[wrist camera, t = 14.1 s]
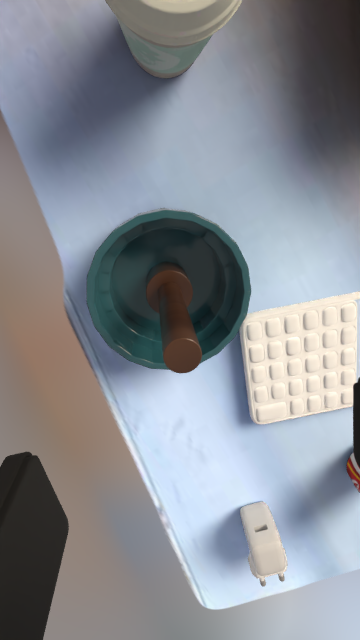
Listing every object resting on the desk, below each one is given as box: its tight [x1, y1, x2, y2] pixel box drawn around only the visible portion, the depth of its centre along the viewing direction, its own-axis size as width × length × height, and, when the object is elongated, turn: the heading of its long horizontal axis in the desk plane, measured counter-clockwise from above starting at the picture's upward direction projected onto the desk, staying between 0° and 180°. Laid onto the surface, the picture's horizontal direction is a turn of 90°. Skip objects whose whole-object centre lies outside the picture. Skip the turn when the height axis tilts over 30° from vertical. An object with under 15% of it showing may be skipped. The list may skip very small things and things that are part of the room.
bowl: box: [86, 208, 251, 370], centre depth 30 cm, size 13×13×6 cm
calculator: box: [239, 291, 360, 424], centre depth 36 cm, size 13×20×2 cm, turn 100°
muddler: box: [146, 262, 202, 373], centre depth 24 cm, size 4×4×16 cm
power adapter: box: [240, 502, 288, 586], centre depth 43 cm, size 11×5×6 cm, turn 14°
